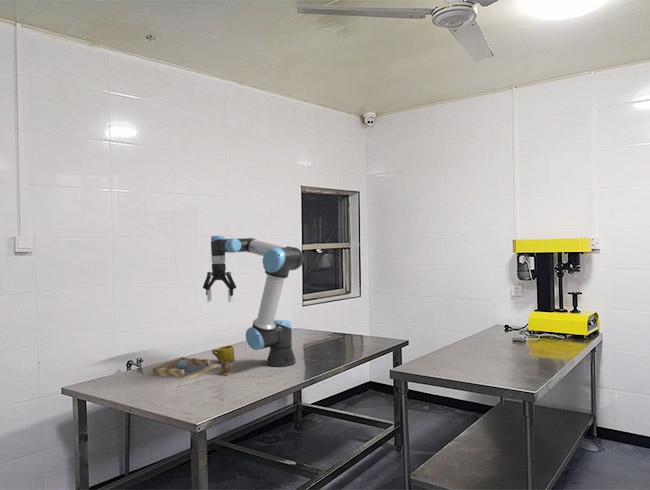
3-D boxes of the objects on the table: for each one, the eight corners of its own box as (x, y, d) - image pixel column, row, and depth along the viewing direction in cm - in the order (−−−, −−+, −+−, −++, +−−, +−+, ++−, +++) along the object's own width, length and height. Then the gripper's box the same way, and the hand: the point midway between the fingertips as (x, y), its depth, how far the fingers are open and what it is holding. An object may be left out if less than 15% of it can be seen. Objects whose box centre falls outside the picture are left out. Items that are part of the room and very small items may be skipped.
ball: (190, 363, 256) (184, 356, 257) (184, 365, 251) (178, 359, 252) (186, 370, 257) (179, 363, 258) (179, 372, 252) (173, 366, 254)
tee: (234, 372, 247) (233, 359, 247) (227, 375, 242) (227, 362, 241) (223, 371, 249) (223, 359, 249) (217, 375, 244) (216, 361, 244)
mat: (207, 366, 261) (207, 365, 261) (183, 376, 243) (183, 375, 243) (182, 364, 267) (182, 363, 267) (157, 374, 248) (156, 373, 248)
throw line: (217, 366, 261) (217, 365, 261) (190, 378, 239) (190, 378, 239) (216, 366, 261) (216, 365, 261) (188, 378, 239) (188, 378, 239)
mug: (241, 356, 273) (234, 340, 271) (231, 366, 264) (224, 350, 262) (224, 358, 279) (217, 343, 277) (214, 368, 270) (206, 352, 268)
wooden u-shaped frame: (209, 365, 262) (209, 359, 262) (182, 377, 241) (182, 370, 241) (181, 363, 269) (181, 357, 269) (152, 374, 248) (152, 367, 248)
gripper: (241, 262, 273) (242, 300, 273) (203, 263, 282) (204, 300, 282) (234, 263, 266) (235, 302, 266) (195, 263, 275) (196, 301, 275)
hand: (219, 301), depth 274 cm, fingers open, 13 cm apart
